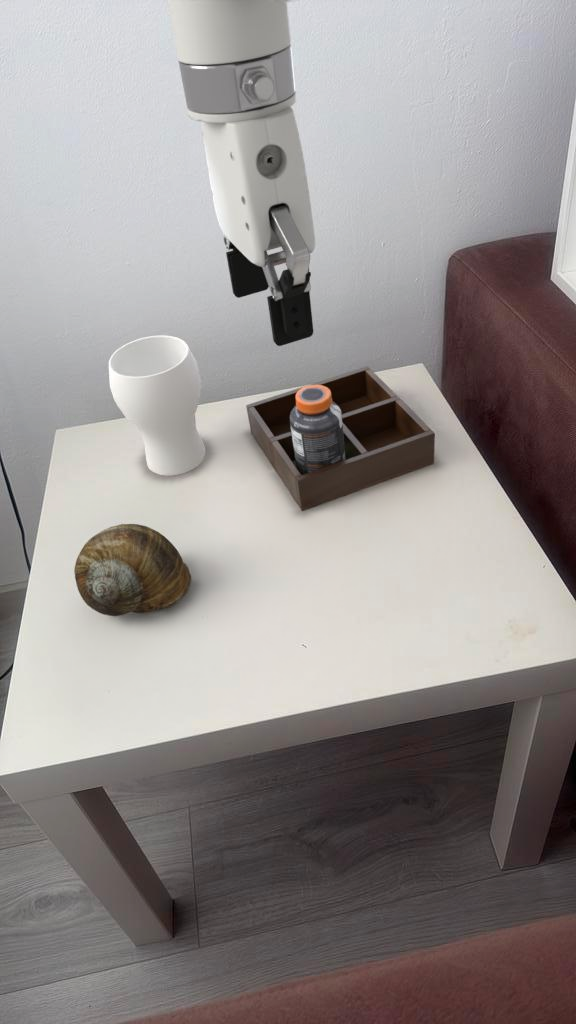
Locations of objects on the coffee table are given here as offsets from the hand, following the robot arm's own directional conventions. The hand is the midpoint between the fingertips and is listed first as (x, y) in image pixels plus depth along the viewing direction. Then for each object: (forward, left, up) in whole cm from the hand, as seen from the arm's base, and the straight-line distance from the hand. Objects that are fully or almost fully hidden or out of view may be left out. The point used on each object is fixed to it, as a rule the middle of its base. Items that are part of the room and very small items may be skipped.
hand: (271, 314), depth 61 cm
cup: (+24, +8, -28) cm, 38 cm away
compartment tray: (+15, -11, -28) cm, 34 cm away
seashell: (+3, +18, -28) cm, 34 cm away
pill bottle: (+11, -7, -28) cm, 30 cm away
